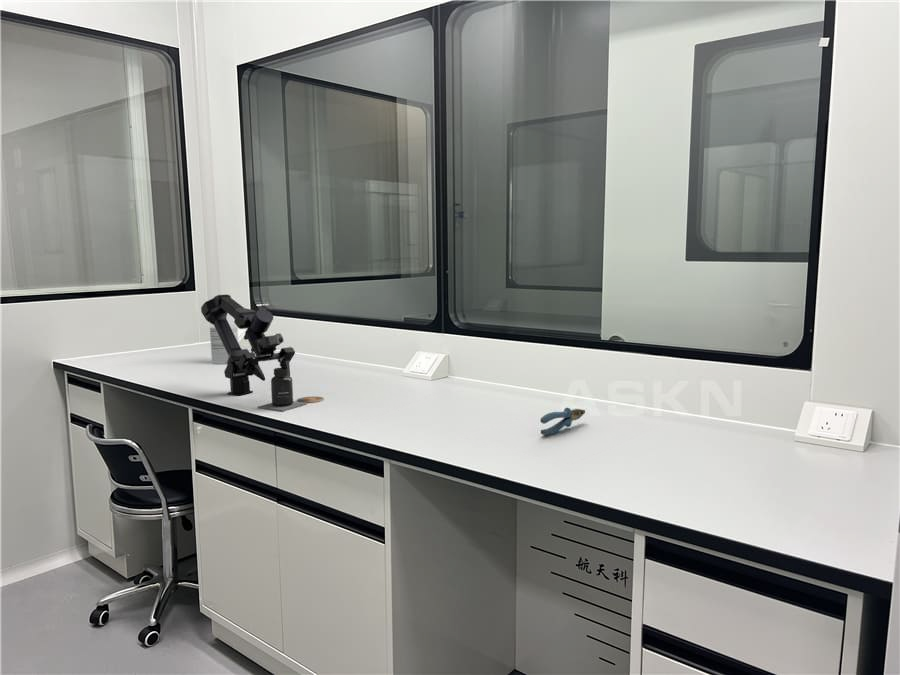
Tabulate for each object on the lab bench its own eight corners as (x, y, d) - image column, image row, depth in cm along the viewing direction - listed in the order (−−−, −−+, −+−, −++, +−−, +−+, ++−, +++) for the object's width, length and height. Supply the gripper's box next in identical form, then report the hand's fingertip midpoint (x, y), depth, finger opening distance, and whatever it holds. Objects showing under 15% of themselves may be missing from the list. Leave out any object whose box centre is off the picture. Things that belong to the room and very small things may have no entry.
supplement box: (221, 360, 312) (219, 324, 310) (240, 360, 311) (238, 324, 308) (211, 364, 302) (209, 327, 300) (230, 364, 301) (228, 327, 299)
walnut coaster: (291, 401, 227) (291, 400, 227) (309, 395, 234) (309, 395, 234) (311, 404, 222) (311, 403, 222) (329, 398, 230) (329, 398, 230)
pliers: (580, 421, 195) (580, 401, 194) (586, 423, 193) (587, 403, 193) (538, 436, 181) (538, 414, 180) (544, 437, 179) (544, 416, 179)
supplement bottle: (282, 407, 215) (280, 371, 214) (267, 405, 219) (265, 369, 217) (297, 403, 221) (296, 367, 219) (283, 401, 225) (281, 366, 223)
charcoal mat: (258, 407, 218) (257, 406, 218) (282, 400, 227) (282, 399, 227) (282, 411, 212) (282, 410, 212) (306, 404, 222) (306, 403, 222)
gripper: (240, 329, 215) (259, 367, 209) (291, 323, 228) (310, 359, 222) (230, 350, 222) (248, 388, 216) (279, 344, 235) (298, 379, 229)
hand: (277, 378), depth 220 cm, fingers open, 9 cm apart
